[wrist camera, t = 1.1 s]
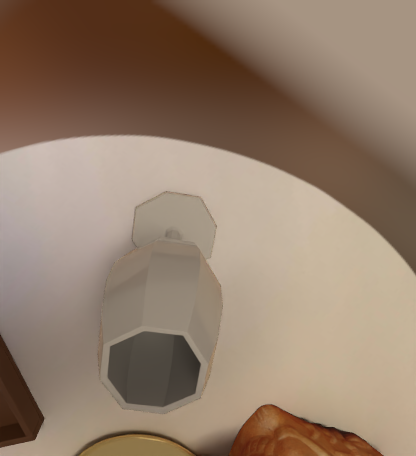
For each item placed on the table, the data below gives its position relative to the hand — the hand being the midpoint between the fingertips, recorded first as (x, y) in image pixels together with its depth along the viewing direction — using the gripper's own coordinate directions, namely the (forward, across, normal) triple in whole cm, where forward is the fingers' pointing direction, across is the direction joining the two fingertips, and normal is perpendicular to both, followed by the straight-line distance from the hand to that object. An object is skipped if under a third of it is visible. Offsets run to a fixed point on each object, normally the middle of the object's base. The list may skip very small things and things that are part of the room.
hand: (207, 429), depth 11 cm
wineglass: (+30, -2, -5) cm, 30 cm away
